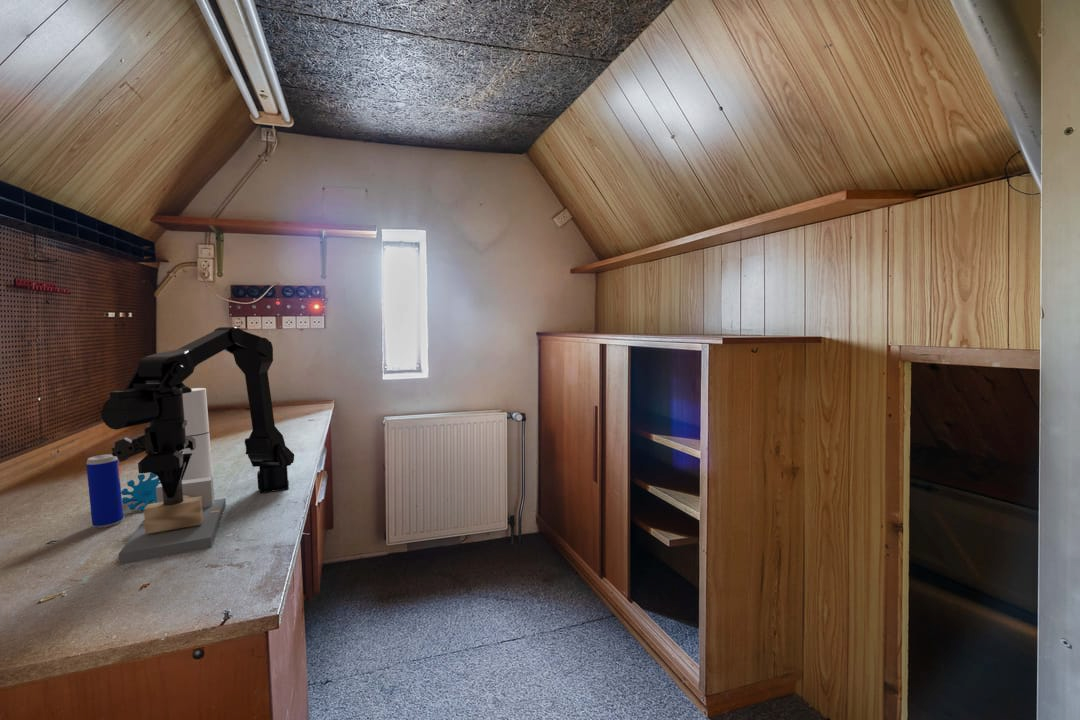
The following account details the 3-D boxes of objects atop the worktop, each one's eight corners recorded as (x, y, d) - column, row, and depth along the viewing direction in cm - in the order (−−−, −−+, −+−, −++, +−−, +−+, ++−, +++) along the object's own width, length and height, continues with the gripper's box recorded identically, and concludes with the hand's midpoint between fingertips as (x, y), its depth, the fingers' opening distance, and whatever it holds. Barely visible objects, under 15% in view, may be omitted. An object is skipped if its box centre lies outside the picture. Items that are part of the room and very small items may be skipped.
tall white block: (189, 482, 135) (181, 392, 133) (177, 478, 139) (170, 390, 137) (217, 475, 141) (210, 388, 139) (205, 471, 145) (198, 387, 143)
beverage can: (129, 520, 109) (123, 454, 108) (102, 530, 105) (95, 461, 103) (114, 517, 111) (107, 452, 110) (86, 527, 106) (79, 459, 105)
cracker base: (226, 506, 117) (223, 473, 116) (211, 547, 95) (208, 507, 95) (152, 518, 111) (149, 483, 110) (119, 564, 89) (115, 521, 89)
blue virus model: (113, 509, 112) (127, 470, 118) (119, 521, 116) (132, 482, 122) (173, 508, 116) (183, 470, 122) (176, 519, 120) (186, 482, 126)
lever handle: (203, 519, 103) (199, 467, 102) (200, 524, 100) (196, 472, 99) (149, 528, 99) (145, 474, 98) (145, 534, 96) (140, 479, 95)
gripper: (129, 415, 103) (135, 488, 104) (98, 432, 86) (106, 519, 87) (193, 409, 108) (198, 479, 109) (176, 425, 91) (182, 507, 92)
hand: (172, 494), depth 99 cm, fingers closed on lever handle, 3 cm apart
